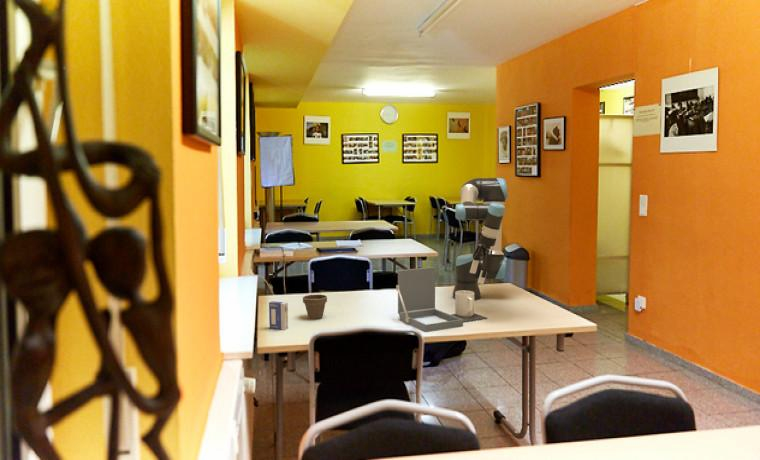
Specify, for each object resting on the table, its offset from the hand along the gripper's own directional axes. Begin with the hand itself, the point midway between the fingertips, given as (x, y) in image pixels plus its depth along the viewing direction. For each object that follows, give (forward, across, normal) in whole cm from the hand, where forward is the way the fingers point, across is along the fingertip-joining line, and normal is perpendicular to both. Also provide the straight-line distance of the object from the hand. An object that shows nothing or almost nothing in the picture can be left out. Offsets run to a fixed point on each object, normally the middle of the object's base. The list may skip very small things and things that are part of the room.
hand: (476, 278), depth 279 cm
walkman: (+36, +13, -86) cm, 94 cm away
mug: (+18, +6, -2) cm, 19 cm away
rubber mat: (+18, +7, -2) cm, 19 cm away
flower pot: (+35, -3, -70) cm, 78 cm away
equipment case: (+21, +13, -20) cm, 32 cm away
